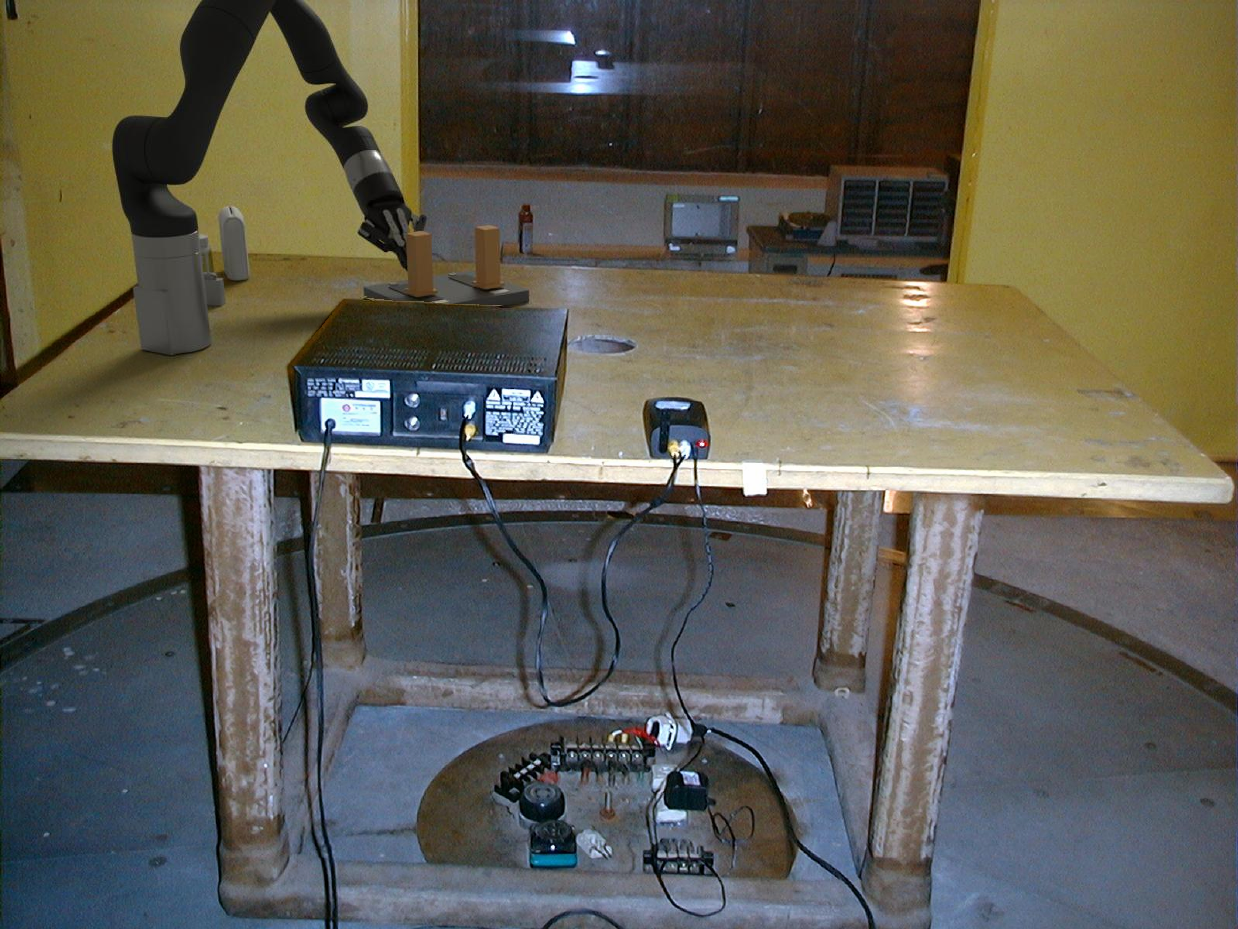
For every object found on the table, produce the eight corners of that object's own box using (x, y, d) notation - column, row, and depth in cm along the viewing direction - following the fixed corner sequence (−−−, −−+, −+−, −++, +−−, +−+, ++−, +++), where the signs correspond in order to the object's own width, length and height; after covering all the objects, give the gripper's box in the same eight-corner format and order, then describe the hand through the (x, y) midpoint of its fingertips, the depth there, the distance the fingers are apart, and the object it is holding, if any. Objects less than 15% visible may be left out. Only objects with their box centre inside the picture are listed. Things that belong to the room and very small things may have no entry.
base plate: (417, 321, 197) (417, 308, 196) (364, 298, 210) (363, 285, 209) (529, 301, 210) (529, 288, 209) (472, 280, 223) (471, 268, 222)
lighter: (226, 303, 205) (221, 256, 202) (221, 305, 204) (216, 258, 201) (186, 301, 206) (180, 254, 203) (181, 303, 205) (175, 256, 202)
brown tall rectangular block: (485, 289, 207) (483, 230, 203) (472, 284, 210) (470, 226, 206) (504, 286, 209) (503, 228, 206) (491, 281, 212) (490, 224, 208)
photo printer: (222, 269, 227) (215, 202, 223) (246, 267, 229) (239, 201, 224) (226, 282, 218) (219, 213, 214) (251, 280, 220) (244, 211, 215)
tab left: (416, 297, 201) (414, 236, 198) (404, 292, 204) (401, 232, 201) (437, 293, 204) (435, 234, 200) (425, 288, 207) (422, 229, 203)
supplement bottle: (204, 278, 220) (199, 232, 217) (220, 282, 218) (215, 236, 215) (181, 283, 217) (176, 236, 213) (198, 287, 214) (192, 240, 211)
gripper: (344, 173, 201) (385, 260, 197) (414, 166, 209) (454, 250, 205) (331, 200, 207) (371, 286, 203) (400, 193, 215) (439, 275, 211)
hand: (413, 268), depth 204 cm, fingers closed
